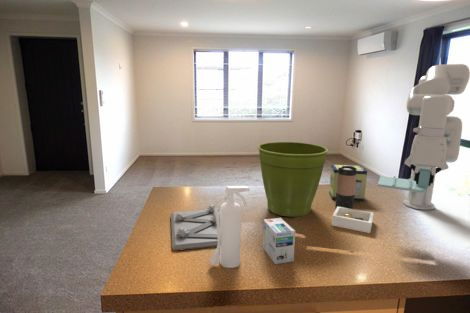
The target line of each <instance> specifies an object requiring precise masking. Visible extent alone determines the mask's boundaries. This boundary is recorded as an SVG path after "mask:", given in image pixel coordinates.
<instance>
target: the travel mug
mask: <svg viewBox="0 0 470 313" xmlns="http://www.w3.org/2000/svg"><path fill="white" fill-rule="evenodd" d="M356 171H357V169H356V168H354V167H350V166H342V167H341V168H338V178H337V189H336V200H335V207H334V208H335V210H336V208H337V206H338V207H344V208H349V209H354V202H355V201H354V194H355V183H356Z"/></svg>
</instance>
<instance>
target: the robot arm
mask: <svg viewBox="0 0 470 313" xmlns="http://www.w3.org/2000/svg"><path fill="white" fill-rule="evenodd" d="M469 81H470V68H469V67H468V65H466V64H464V63H453V64H452V63H451V64H449V63H448V64H435V65H432V66H431V67H430V68H428V69H427V71H426V74H425V75H423V76H421V77H420V79H419V80H418V84H416V85H415V86H413V88H412V89H411V90H410V91H409V94H408V97H407V101H406V111H407V112H408V114H410V115H412V116H419V122H418V127H414V128H413V129H412V130H413V131H412V132H413V133H416V134H415V135H414V138H413V141H412V144H411V148H410V155H409V156H408V157H407V158H406V159H405V160H404V165H406V166H408V167H409V168H410V169H411V174H410V179H411V180H414V181H416V184H418V181H419V172H420V171H419V170H420V167H423V168H430V171H431V172H430V178H429V185H428V188H426V189H427V193H421V192H414V191H408V193H407V194H408V196H407V198H405V199H403V205H406V207H409V208H411V209H417V210H421V211H431V210H434V209H435V204H434V203H433V202H432V200H433V199H432V198H433V192H434V187H435V186H434V185H435V179H436V174H438V173H439V172H441V171H445V170H448V169H449V165H448V163H455V162H456V161H458V158H459V155H460V149H461V148H460V147H461V139H462V132H463V121H462V119H461V118H460V117H458V116H451V115H450V114H451V113H452V112H453V111H454V108H455V100H454V99H453V97H452V96H451V95H453V96H454V95H455V96H456V95H460V94H463V93H464V91H465V89H466V88H467V86H468V84H469ZM449 115H450V116H449Z"/></svg>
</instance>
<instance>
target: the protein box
mask: <svg viewBox="0 0 470 313" xmlns="http://www.w3.org/2000/svg"><path fill="white" fill-rule="evenodd" d="M330 166H331V167H330V177H329V191H328V193H329V195H330V197H331V199H332V200H333V201H336V189H337V178H338V168H341V167H342V166H350V167H354V168H356V169H357V171H356V183H355V194H354V202H365V199H366V187H367V178H368V177H367V176H368V170H366V169H365V168H364V167H363V166H362V165H353V164H351V165H349V164H347V165H345V164H331V165H330Z"/></svg>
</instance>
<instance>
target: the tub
mask: <svg viewBox="0 0 470 313" xmlns="http://www.w3.org/2000/svg"><path fill="white" fill-rule="evenodd" d="M344 213H351V214H352V218H347V217H344ZM374 214H375V213H374V212H372V211H366V210H360V209H354V208H353V209H349V208H344V207H338V206H337V208H336V209H335V210H334V212H333V214H332V216H331V226H334V227H339V228H344V229H348V230H353V231H358V232H362V233H368V234H371V231H372V228H373V220H374ZM355 217H357V218H363V220H364V221H363V220H358V219H355Z"/></svg>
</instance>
